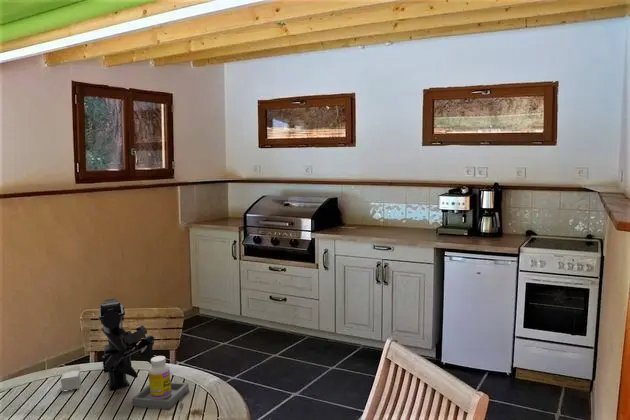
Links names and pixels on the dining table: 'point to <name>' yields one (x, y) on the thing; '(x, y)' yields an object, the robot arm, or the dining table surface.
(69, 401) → the dining table surface
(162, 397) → the supplement bottle
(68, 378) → the small box
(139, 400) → the tray
